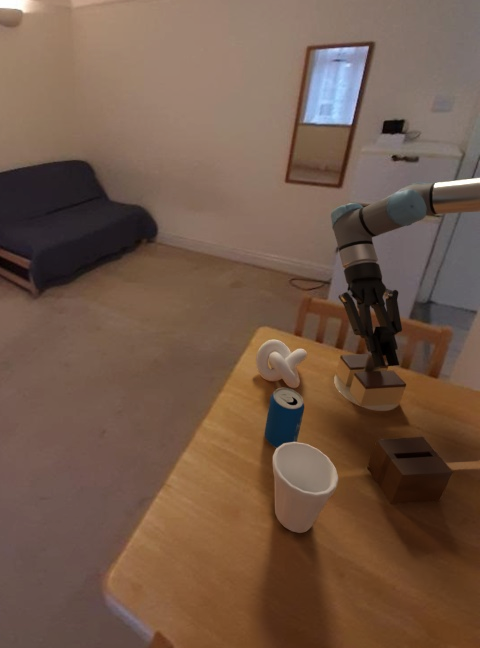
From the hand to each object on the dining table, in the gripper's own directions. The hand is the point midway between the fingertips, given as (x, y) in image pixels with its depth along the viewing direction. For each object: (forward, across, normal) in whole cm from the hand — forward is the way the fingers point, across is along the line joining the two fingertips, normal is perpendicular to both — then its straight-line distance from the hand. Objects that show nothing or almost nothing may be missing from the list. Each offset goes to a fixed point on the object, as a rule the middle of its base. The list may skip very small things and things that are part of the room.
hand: (386, 365), depth 90 cm
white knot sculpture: (+1, +19, -16) cm, 25 cm away
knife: (+4, 0, -10) cm, 11 cm away
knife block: (+22, +7, +6) cm, 24 cm away
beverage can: (+14, +26, -2) cm, 30 cm away
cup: (+25, +30, +9) cm, 40 cm away
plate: (+5, 0, -11) cm, 12 cm away
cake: (+5, 0, -10) cm, 11 cm away
